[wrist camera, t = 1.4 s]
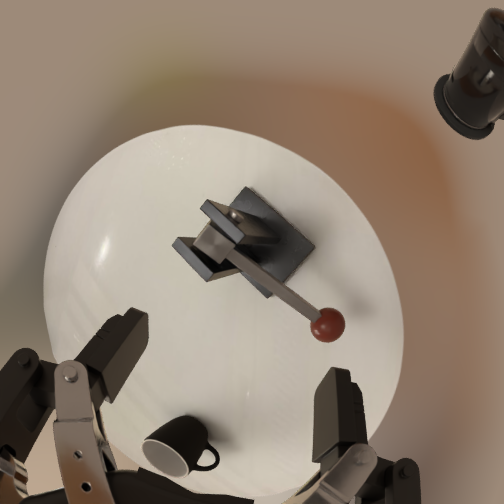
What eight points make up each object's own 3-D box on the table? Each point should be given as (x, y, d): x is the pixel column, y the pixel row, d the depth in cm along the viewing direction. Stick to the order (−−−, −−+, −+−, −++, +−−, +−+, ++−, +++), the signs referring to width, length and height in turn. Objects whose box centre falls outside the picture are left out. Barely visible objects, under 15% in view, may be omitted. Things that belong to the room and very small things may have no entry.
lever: (345, 312, 28) (356, 330, 25) (322, 335, 29) (331, 354, 26) (217, 210, 24) (213, 218, 21) (193, 241, 25) (186, 253, 22)
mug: (168, 432, 43) (139, 459, 33) (174, 401, 42) (141, 430, 32) (224, 459, 40) (201, 493, 30) (235, 431, 39) (212, 468, 29)
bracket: (315, 246, 35) (301, 249, 19) (269, 297, 36) (224, 332, 21) (248, 187, 37) (192, 153, 22) (207, 237, 39) (134, 234, 24)
